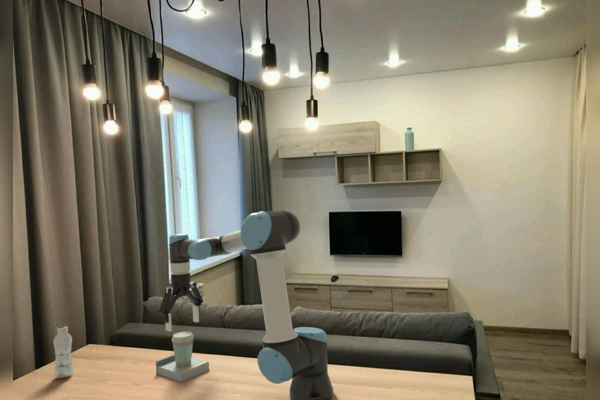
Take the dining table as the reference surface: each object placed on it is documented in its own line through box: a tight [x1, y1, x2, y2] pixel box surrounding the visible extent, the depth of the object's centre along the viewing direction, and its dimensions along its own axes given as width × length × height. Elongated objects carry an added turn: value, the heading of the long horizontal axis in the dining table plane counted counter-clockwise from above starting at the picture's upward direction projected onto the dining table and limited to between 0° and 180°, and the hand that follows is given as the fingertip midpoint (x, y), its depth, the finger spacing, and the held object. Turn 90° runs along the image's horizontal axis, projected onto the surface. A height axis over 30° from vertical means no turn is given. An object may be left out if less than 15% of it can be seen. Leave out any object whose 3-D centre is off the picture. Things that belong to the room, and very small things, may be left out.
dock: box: [155, 353, 210, 383], centre depth 178 cm, size 15×14×5 cm
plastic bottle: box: [53, 325, 74, 380], centre depth 176 cm, size 6×7×20 cm
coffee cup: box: [171, 331, 195, 367], centre depth 178 cm, size 8×9×12 cm
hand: (182, 326), depth 177 cm, fingers open, 13 cm apart
